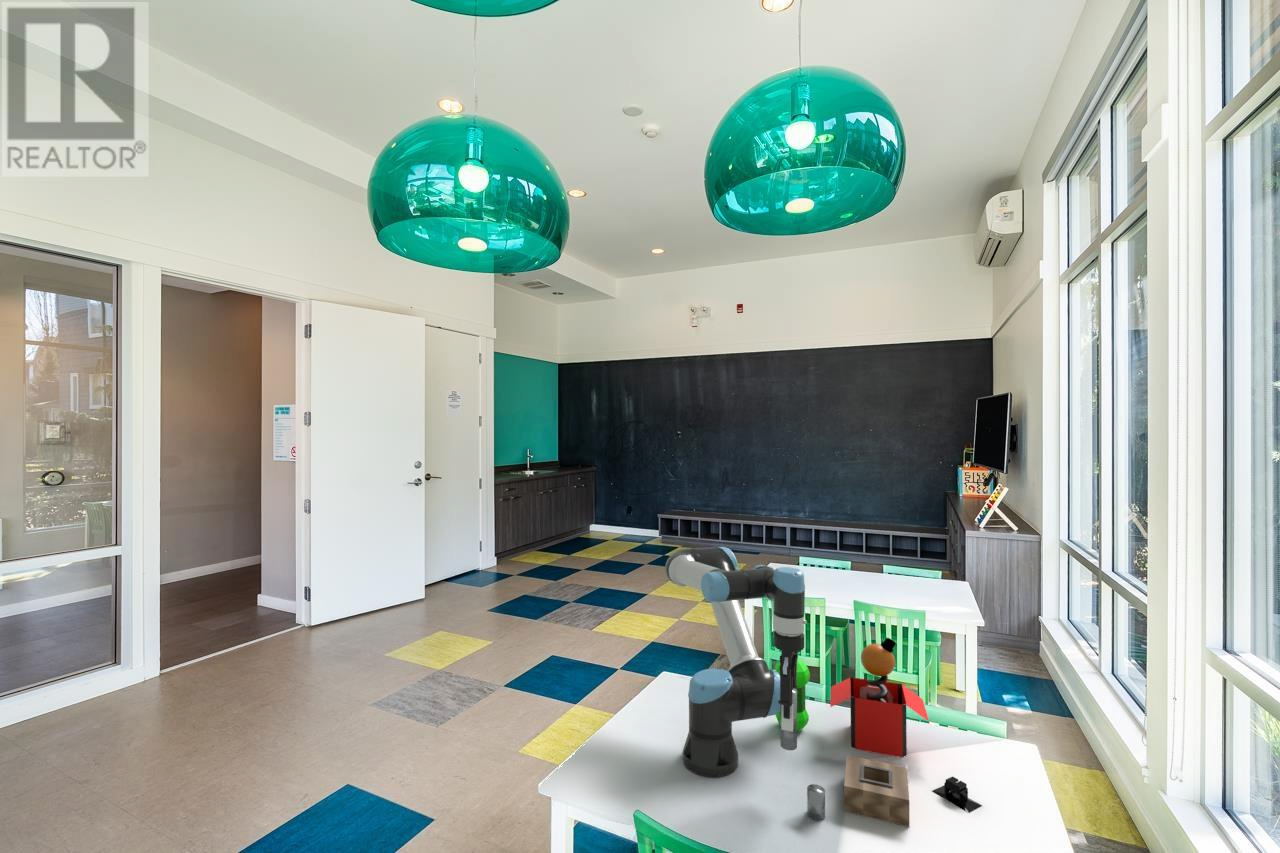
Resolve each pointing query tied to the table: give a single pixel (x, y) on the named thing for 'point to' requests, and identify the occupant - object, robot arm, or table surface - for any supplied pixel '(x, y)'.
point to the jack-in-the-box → (878, 704)
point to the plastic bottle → (802, 680)
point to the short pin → (816, 802)
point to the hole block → (876, 790)
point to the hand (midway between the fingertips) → (788, 725)
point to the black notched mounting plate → (957, 794)
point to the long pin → (790, 738)
